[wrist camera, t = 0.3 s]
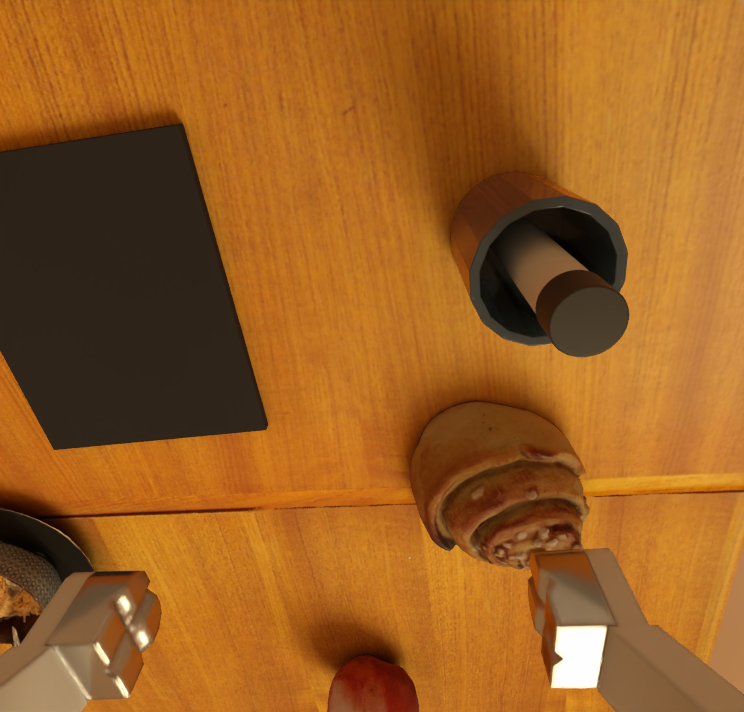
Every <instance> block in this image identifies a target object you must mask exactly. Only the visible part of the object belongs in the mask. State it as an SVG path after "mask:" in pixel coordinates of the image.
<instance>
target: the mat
mask: <svg viewBox="0 0 744 712" xmlns="http://www.w3.org/2000/svg"><path fill="white" fill-rule="evenodd" d="M0 351H1V353H2V355H3V356H4V358H5V360H6V362H7V364H8V366H9V367H10V369H11V371H12V373H13V375H14V377H15V379H16V380H17V382H18V384H19V386H20V388H21V390H22V392H23V393H24V395H25V397H26V399H27V401H28V403H29V404H30V406H31V408H32V410H33V412H34V414H35V416H36V417H37V419H38V421H39V423H40V425H41V427H42V429H43V430H44V432H45V434H46V436H47V438H48V440H49V442H50V443H51V445H52V447H53V449H54V450H58V449H69V448H80V447H90V446H101V445H112V444H122V443H133V442H144V441H154V440H165V439H176V438H186V437H197V436H207V435H218V434H229V433H239V432H250V431H261V430H266V429H267V426H268V422H267V418H266V415H265V411H264V408H263V404H262V401H261V397H260V394H259V390H258V387H257V383H256V380H255V376H254V373H253V369H252V366H251V362H250V358H249V355H248V351H247V348H246V344H245V341H244V337H243V334H242V330H241V327H240V323H239V320H238V316H237V313H236V309H235V306H234V302H233V298H232V295H231V291H230V288H229V284H228V281H227V277H226V274H225V270H224V267H223V263H222V260H221V256H220V253H219V249H218V246H217V242H216V238H215V235H214V231H213V228H212V224H211V221H210V217H209V214H208V210H207V207H206V203H205V200H204V196H203V193H202V189H201V186H200V182H199V178H198V175H197V171H196V168H195V164H194V161H193V157H192V154H191V150H190V147H189V143H188V140H187V136H186V133H185V129H184V126H183V124H176V125H169V126H163V127H157V128H150V129H144V130H137V131H131V132H125V133H118V134H112V135H105V136H99V137H93V138H86V139H80V140H74V141H67V142H61V143H54V144H48V145H42V146H35V147H29V148H22V149H16V150H10V151H3V152H0Z"/></svg>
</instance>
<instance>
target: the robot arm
mask: <svg viewBox="0 0 744 712" xmlns="http://www.w3.org/2000/svg"><path fill="white" fill-rule="evenodd" d="M529 566H530V570H531V573H532V576H531V577H530V578H529V579H528V597H529V606H530V611H531V616H532V620H533V624H534V628H535V630H536V631H537V632H538V633H539V634H540V635H541V636H542V646H541V654H542V657H543V661H544V664H545V668H546V672H547V675H548V679H549V682H550V686H551V688H598V692H599V693H600V694H601V695H602V696H603V697H604V698H605V700H606V701H607V702H608V703H609V704H610V705H611V706H612V708H613V709H614V710H615V711H616V712H744V694H743V693H742V692H740V691H739V690H737V688H735V687H734V686H733V685H732V684H730V683H729V682H728V681H727V680H725V679H724V678H723V677H722V676H720V675H719V674H718V673H717V672H715V671H714V670H713V669H712V668H710V667H709V666H708V665H707V664H705V663H704V662H703V661H702V660H700V659H699V658H698V657H697V656H695V655H694V654H693V653H692V652H690V651H689V650H688V649H687V648H685V647H684V646H683V645H682V644H680V643H679V642H678V641H677V640H675V639H674V638H673V637H672V636H670V635H669V634H668V633H667V632H665V631H664V630H663V629H662V628H660V627H659V626H658V625H649V624H648V622H647V620H646V618H645V616H644V614H643V612H642V610H641V608H640V606H639V604H638V602H637V600H636V598H635V596H634V594H633V592H632V590H631V588H630V586H629V584H628V582H627V580H626V578H625V576H624V574H623V572H622V570H621V568H620V566H619V564H618V562H617V560H616V558H615V556H614V554H613V552H612V551H611V550H610V549H609V548H600V549H582V550H581V549H570V550H553V551H537V552H531V554H530V558H529ZM149 583H150V580H149V578H148V576H147V574H146V573H145V571H111V572H76V573H73V574H71V575H70V576H68V577H67V578H66V579H65V580H64V582H63V583H62V584H61V586H60V587H59V589H58V590H57V592H56V593H55V595H54V596H53V598H52V599H51V600H50V602H49V603H48V605H47V606H46V608H45V609H44V611H43V612H42V614H41V615H40V616H39V618H38V619H37V621H36V622H35V624H34V625H33V627H32V628H31V630H30V631H29V632H28V634H27V635H26V637H25V638H24V640H23V641H22V643H21V644H20V646H19V647H11V648H10V649H9V650H7V651H6V652H5V653H3V654H2V655H1V656H0V712H81V711H82V709H83V708H84V707H85V706H86V705H87V704H88V701H87V700H104V699H122V698H129V696H130V694H131V692H132V690H133V687H134V685H135V683H136V681H137V678H138V676H139V674H140V672H141V669H142V667H143V665H144V663H143V658H142V654H141V653H142V652H144V651H145V650H146V649H147V648H148V647H149V646H150V645H151V644H152V643H153V642H154V640H155V637H156V635H157V632H158V630H159V626H160V620H161V614H162V613H161V605H160V601H159V599H158V597H157V595H156V594H154V593H153V592H151V591H150V590H148V589H147V587H148V585H149Z"/></svg>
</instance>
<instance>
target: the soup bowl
mask: <svg viewBox="0 0 744 712" xmlns="http://www.w3.org/2000/svg"><path fill="white" fill-rule="evenodd" d="M76 572H95V571H94V569H93V567H92V565H91V562H90V560H89V559H88V558H87V556H86V555H85V553H84V552H83V551H82V550H81V548H79V546H78V545H77V544H75V543H74V542H73V540H72V539H71V538H69V537H68V536H67V535H66V534H64V533H63V532H61V531H60V530H59V529H57V528H54V527H52V526H50V525H48V524H46V523H44V522H42V521H40V520H38V519H35V518H32V517H30V516H27V515H25V514H22V513H18V512H15V511H12V510H9V509H6V508H3V507H0V643H5V644H12V646H13V647H19V646H20V644H21V643H22V641H23V640H24V638H25V637H26V635H27V634H28V632H29V631H30V630H31V628H32V627H33V625H34V624H35V622H36V621H37V619H38V618H39V616H40V615H41V614H42V612H43V611H44V609H45V608H46V606H47V605H48V603H49V602H50V600H51V599H52V598H53V596H54V595H55V593H56V592H57V590H58V589H59V587H60V586H61V584H62V583H63V582H64V580H65V579H66V578H67V577H68V576H70V575H71V574H73V573H76Z"/></svg>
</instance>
